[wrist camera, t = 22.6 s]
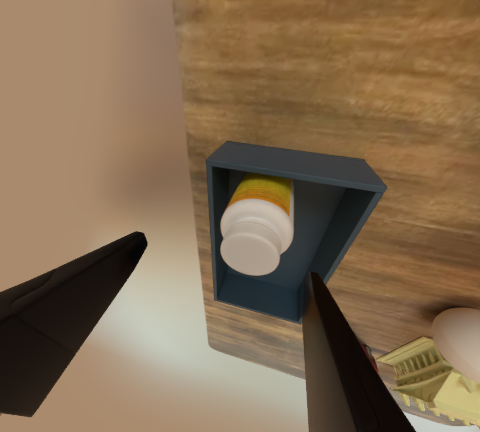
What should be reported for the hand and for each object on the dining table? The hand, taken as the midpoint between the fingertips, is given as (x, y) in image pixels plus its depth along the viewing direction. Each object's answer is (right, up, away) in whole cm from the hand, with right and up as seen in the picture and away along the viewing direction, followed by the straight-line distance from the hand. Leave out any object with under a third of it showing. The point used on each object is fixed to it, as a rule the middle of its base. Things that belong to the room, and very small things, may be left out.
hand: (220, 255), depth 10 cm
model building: (+42, -25, +22) cm, 54 cm away
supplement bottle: (+4, +6, +10) cm, 12 cm away
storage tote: (+5, 0, +15) cm, 16 cm away
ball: (+30, -11, +15) cm, 36 cm away
